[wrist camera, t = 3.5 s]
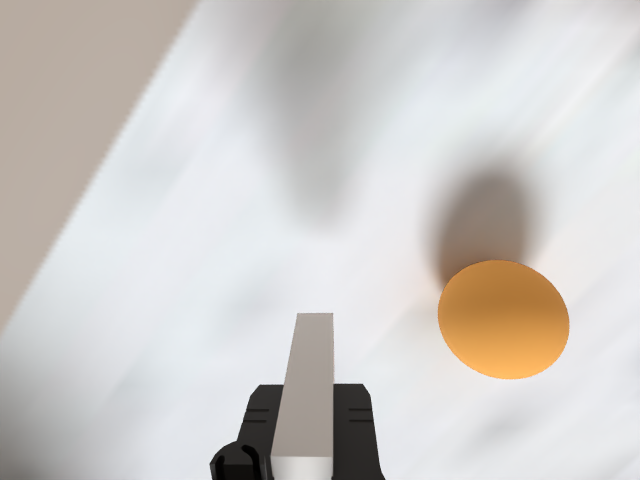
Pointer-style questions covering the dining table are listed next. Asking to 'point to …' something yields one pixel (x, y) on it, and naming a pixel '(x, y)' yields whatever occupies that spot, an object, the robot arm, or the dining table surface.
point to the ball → (503, 319)
